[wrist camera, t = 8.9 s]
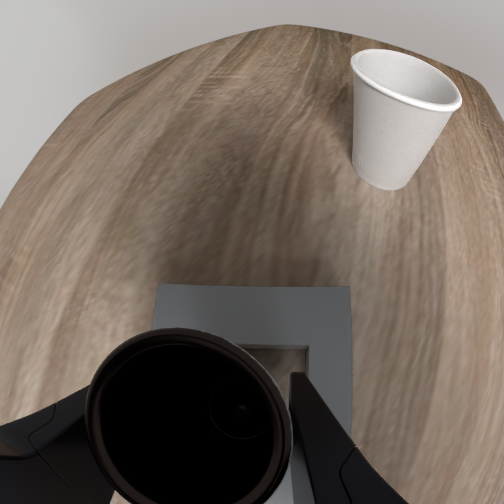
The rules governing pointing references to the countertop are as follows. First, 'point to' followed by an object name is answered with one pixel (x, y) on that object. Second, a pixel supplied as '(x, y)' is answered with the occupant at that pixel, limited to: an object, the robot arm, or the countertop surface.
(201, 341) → the gray tube
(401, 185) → the dixie cup
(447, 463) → the countertop surface
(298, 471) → the robot arm
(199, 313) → the socket board
